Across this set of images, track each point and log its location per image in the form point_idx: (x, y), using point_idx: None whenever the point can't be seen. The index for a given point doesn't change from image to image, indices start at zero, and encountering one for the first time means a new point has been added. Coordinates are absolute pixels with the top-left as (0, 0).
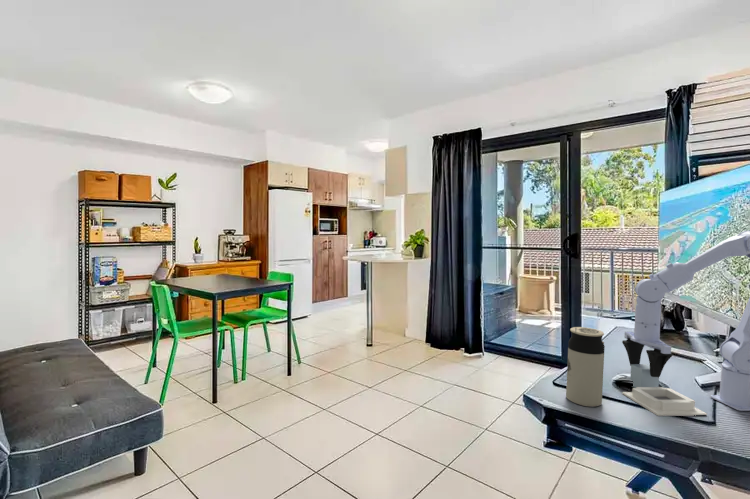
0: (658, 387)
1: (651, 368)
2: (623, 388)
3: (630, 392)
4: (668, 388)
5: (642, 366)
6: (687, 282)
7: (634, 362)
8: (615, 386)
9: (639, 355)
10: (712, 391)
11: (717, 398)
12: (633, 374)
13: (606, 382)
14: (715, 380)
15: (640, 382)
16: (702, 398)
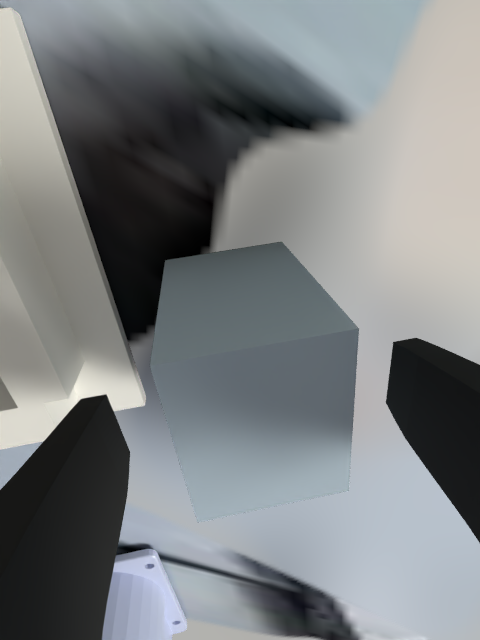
0: (45, 370)
1: (25, 472)
2: (192, 131)
3: (33, 112)
4: (49, 428)
5: (274, 419)
6: None
7: (418, 395)
8: (232, 68)
9: (477, 518)
10: (233, 570)
11: (117, 566)
12: (272, 286)
13: (332, 22)
14: (349, 604)
15: (165, 285)
16: (132, 519)
